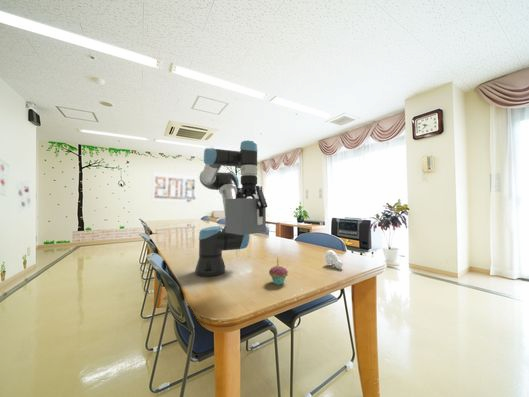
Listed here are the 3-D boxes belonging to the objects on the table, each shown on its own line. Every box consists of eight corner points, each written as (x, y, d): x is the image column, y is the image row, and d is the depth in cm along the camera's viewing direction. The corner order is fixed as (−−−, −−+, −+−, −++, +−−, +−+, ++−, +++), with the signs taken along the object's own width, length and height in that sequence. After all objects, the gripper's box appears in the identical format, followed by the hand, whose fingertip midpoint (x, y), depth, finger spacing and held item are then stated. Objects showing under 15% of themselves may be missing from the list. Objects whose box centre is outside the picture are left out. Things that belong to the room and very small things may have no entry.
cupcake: (286, 287, 87) (286, 258, 87) (267, 285, 89) (267, 257, 89) (288, 279, 96) (288, 254, 96) (270, 278, 97) (270, 253, 98)
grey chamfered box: (225, 232, 89) (225, 199, 90) (248, 229, 98) (248, 199, 99) (241, 235, 80) (241, 198, 81) (265, 232, 89) (265, 198, 90)
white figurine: (332, 248, 122) (347, 255, 110) (331, 262, 122) (346, 270, 111) (323, 249, 120) (337, 256, 108) (323, 263, 120) (336, 272, 109)
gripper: (225, 177, 97) (225, 222, 96) (263, 171, 80) (263, 226, 80) (237, 179, 103) (237, 222, 102) (275, 173, 86) (275, 224, 85)
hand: (249, 223), depth 91 cm, fingers closed on grey chamfered box, 12 cm apart
